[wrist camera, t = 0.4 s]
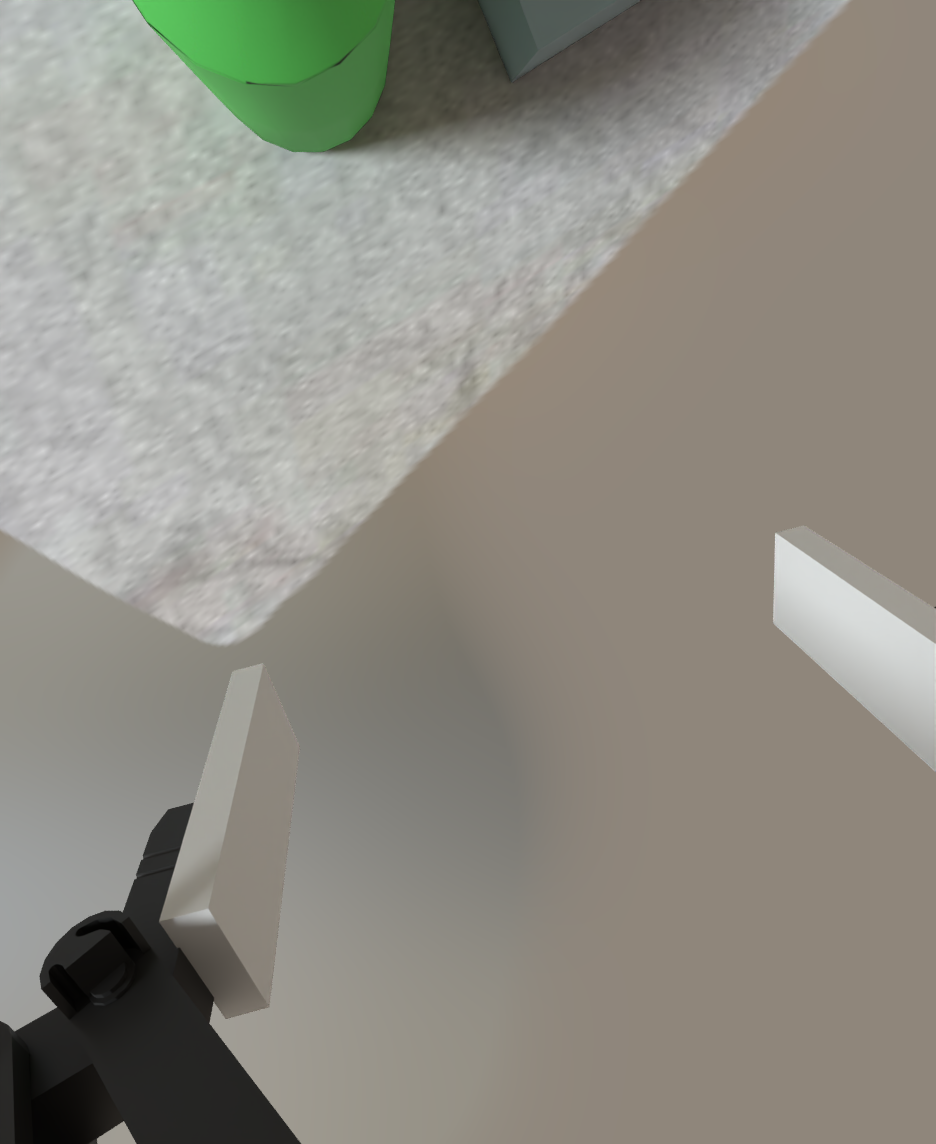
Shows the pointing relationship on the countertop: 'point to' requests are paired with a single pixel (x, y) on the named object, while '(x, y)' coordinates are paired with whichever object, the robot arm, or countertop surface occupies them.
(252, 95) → the bottle
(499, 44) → the bin
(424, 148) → the countertop surface
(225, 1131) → the robot arm
